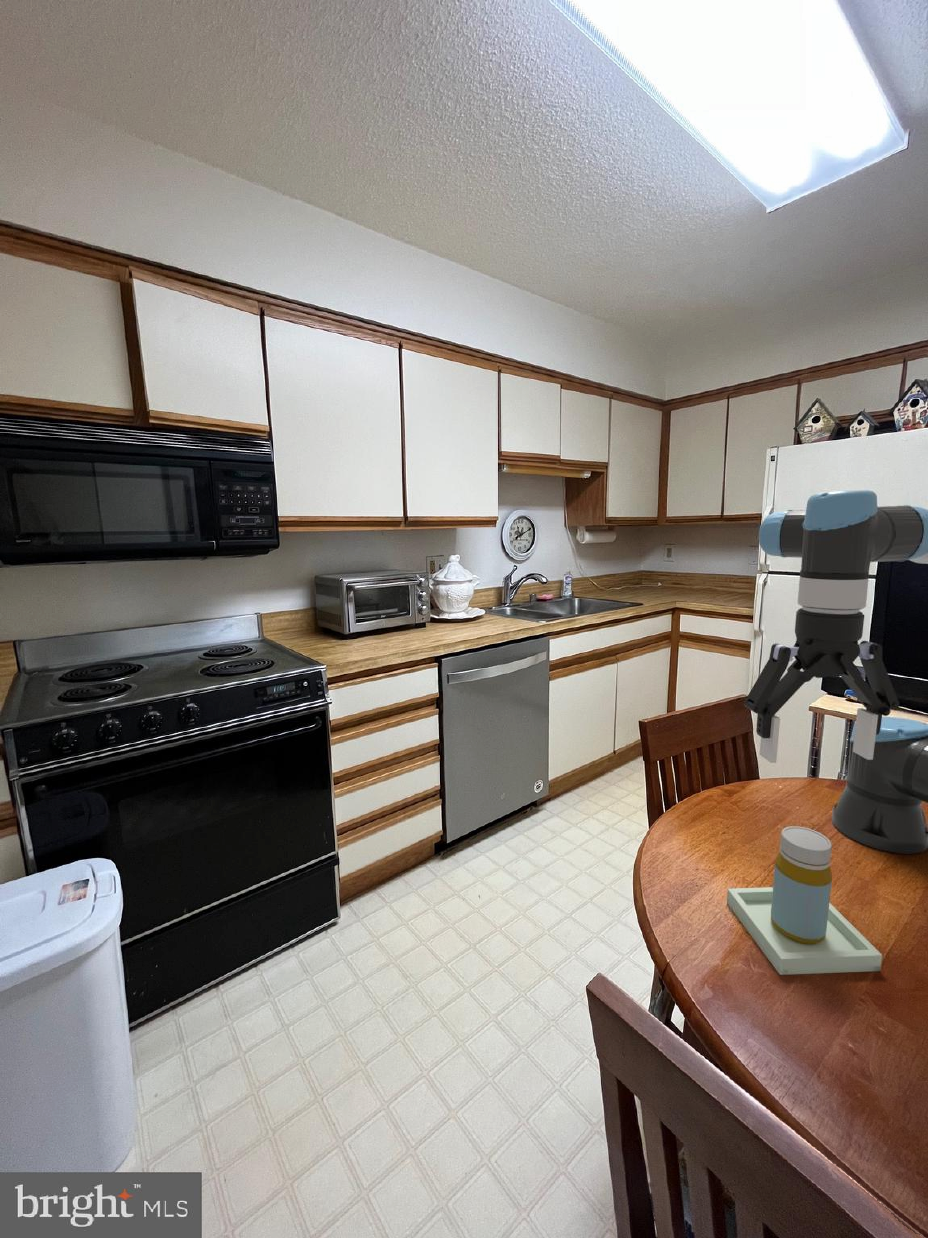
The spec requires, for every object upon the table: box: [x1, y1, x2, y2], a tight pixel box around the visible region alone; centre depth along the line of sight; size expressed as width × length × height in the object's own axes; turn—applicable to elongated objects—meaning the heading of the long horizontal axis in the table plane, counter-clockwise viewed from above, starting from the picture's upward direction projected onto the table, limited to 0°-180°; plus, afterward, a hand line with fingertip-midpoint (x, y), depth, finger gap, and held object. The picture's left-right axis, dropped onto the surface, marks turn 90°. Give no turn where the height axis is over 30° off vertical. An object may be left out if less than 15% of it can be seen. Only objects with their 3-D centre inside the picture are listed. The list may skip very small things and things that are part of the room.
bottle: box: [771, 825, 833, 944], centre depth 77 cm, size 7×7×15 cm
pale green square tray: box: [726, 886, 883, 976], centre depth 78 cm, size 14×14×2 cm
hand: (815, 757), depth 73 cm, fingers open, 13 cm apart
